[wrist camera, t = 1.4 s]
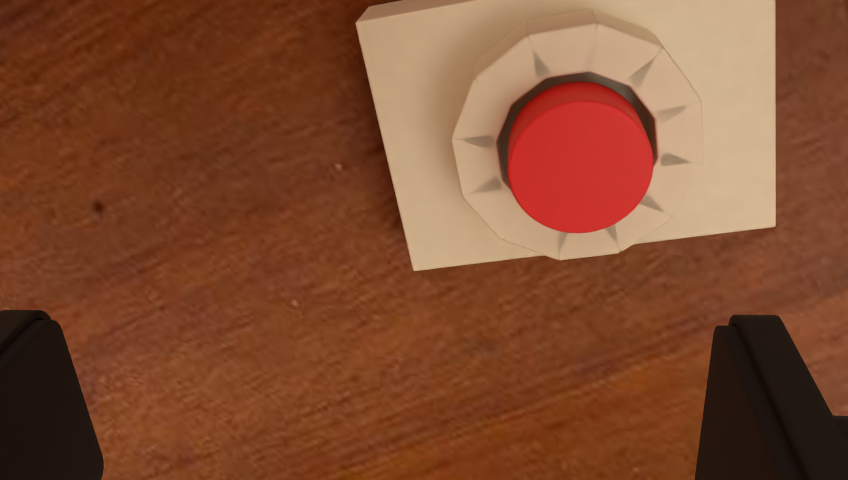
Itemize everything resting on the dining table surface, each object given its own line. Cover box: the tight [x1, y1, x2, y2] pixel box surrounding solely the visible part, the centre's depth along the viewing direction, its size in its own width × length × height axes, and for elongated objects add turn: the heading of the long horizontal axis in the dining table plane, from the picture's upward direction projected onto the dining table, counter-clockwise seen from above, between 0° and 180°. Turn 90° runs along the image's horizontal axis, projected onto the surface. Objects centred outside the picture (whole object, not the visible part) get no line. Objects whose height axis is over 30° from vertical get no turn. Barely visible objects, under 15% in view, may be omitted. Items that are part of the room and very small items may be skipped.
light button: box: [508, 81, 653, 233], centre depth 21 cm, size 4×4×2 cm
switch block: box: [356, 0, 776, 271], centre depth 23 cm, size 11×8×4 cm
